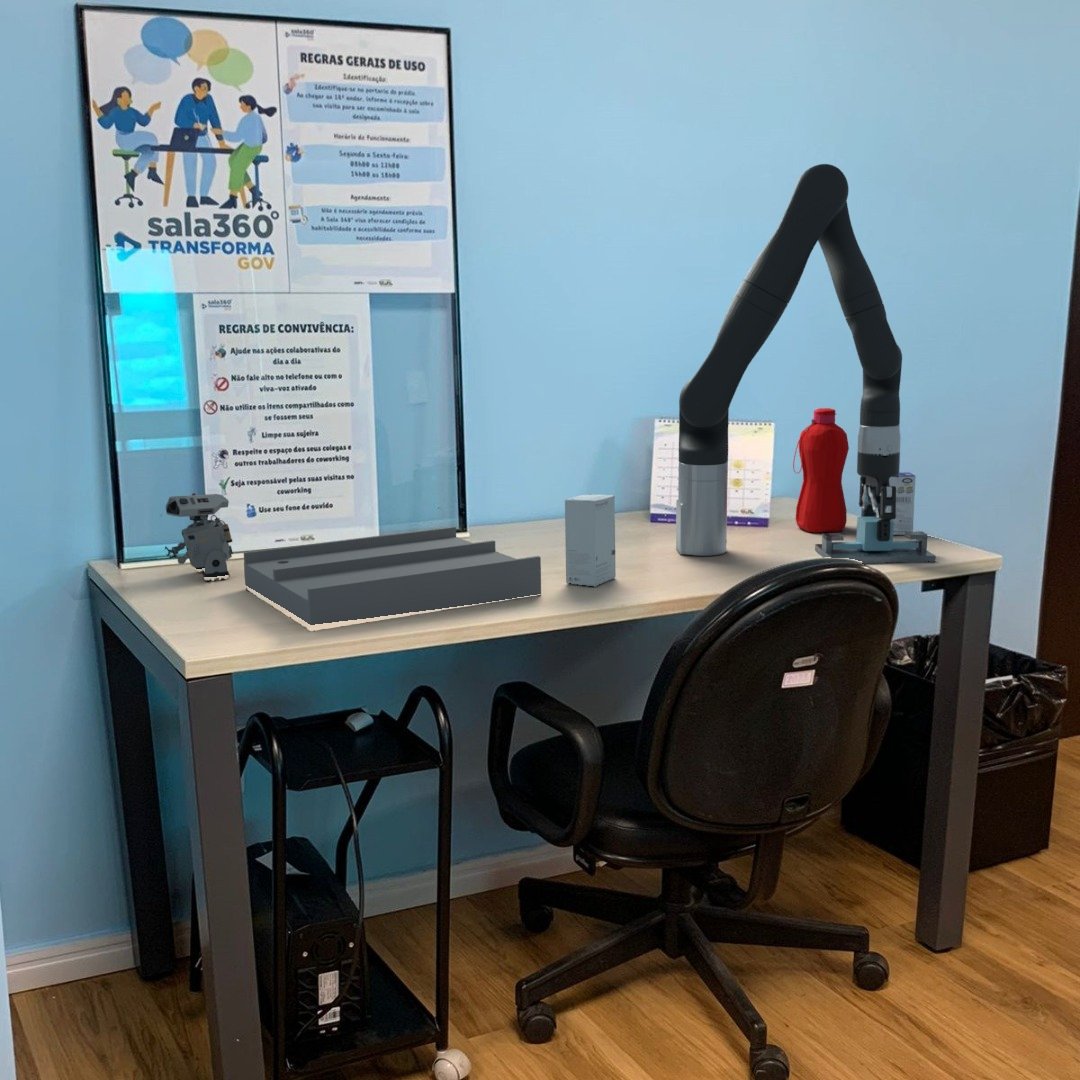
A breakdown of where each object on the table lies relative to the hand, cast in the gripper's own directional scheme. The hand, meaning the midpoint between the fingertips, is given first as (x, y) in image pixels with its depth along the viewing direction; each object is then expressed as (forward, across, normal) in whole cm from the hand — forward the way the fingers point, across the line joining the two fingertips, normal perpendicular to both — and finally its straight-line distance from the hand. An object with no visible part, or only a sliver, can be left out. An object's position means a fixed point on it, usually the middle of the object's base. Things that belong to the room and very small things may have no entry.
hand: (875, 536), depth 229 cm
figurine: (+3, +6, -123) cm, 123 cm away
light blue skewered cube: (+2, 0, 0) cm, 2 cm away
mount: (+4, 0, 0) cm, 4 cm away
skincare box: (+3, +15, -54) cm, 57 cm away
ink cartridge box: (+4, -21, +9) cm, 23 cm away
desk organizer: (+4, +20, -88) cm, 91 cm away
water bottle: (+4, -26, -4) cm, 27 cm away
